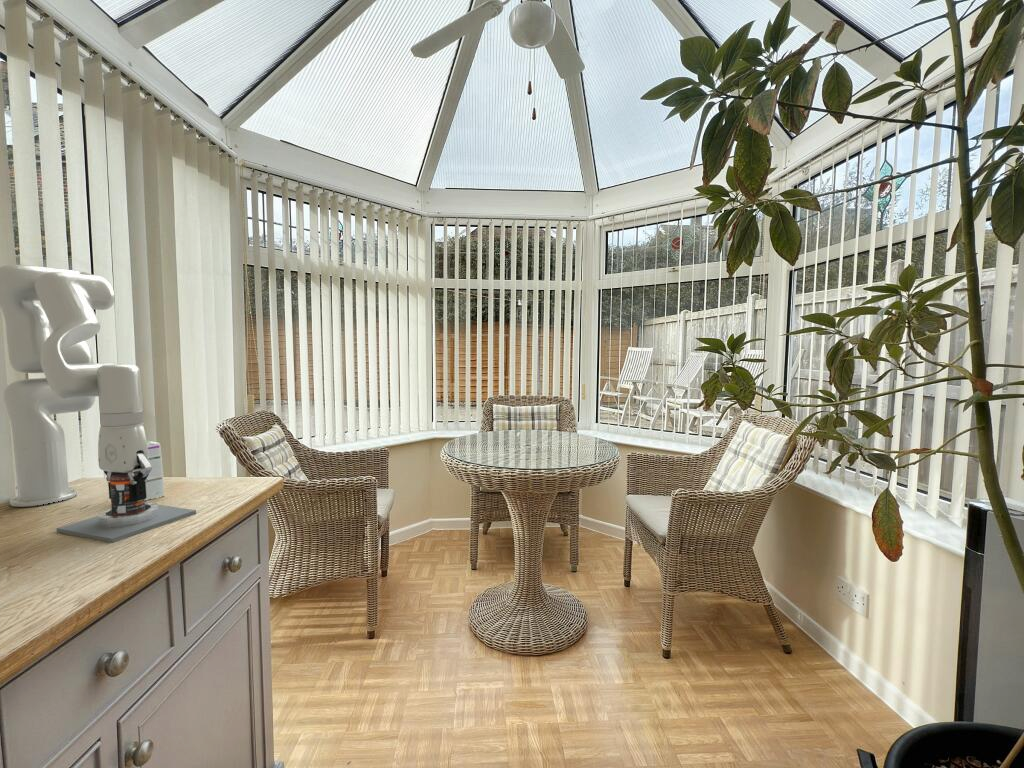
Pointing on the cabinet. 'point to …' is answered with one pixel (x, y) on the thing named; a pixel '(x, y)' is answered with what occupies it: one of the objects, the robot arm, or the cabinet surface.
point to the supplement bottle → (123, 496)
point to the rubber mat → (112, 534)
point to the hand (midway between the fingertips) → (128, 498)
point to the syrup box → (155, 472)
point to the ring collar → (128, 517)
